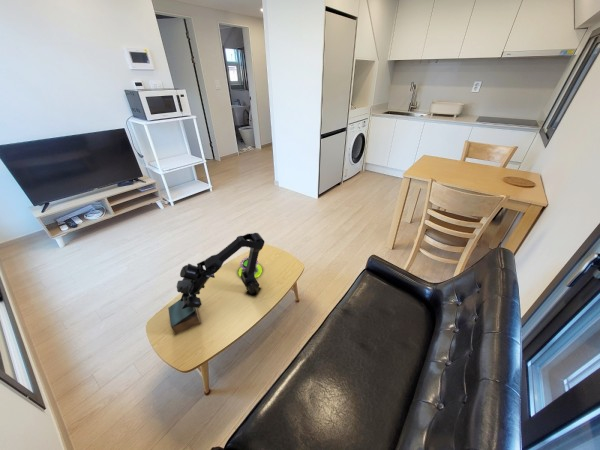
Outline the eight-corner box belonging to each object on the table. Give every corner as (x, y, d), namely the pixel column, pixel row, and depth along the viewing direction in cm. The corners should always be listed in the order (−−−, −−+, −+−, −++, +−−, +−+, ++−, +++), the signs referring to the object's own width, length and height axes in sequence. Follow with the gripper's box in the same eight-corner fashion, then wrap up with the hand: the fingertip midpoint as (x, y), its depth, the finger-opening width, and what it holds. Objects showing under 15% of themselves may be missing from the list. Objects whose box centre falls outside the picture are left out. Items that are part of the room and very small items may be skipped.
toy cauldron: (253, 259, 162) (251, 247, 156) (266, 271, 153) (265, 258, 147) (234, 270, 154) (231, 258, 148) (246, 283, 145) (244, 270, 139)
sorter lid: (190, 293, 125) (185, 289, 122) (194, 310, 116) (189, 306, 113) (169, 308, 123) (163, 304, 120) (171, 327, 114) (165, 323, 111)
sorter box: (195, 306, 131) (193, 299, 128) (200, 323, 122) (197, 316, 119) (172, 315, 126) (168, 308, 123) (175, 334, 117) (171, 327, 114)
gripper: (181, 264, 118) (164, 288, 119) (187, 290, 104) (167, 316, 106) (201, 270, 125) (184, 292, 127) (209, 295, 112) (191, 319, 114)
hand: (182, 304), depth 118 cm, fingers closed on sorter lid, 5 cm apart
